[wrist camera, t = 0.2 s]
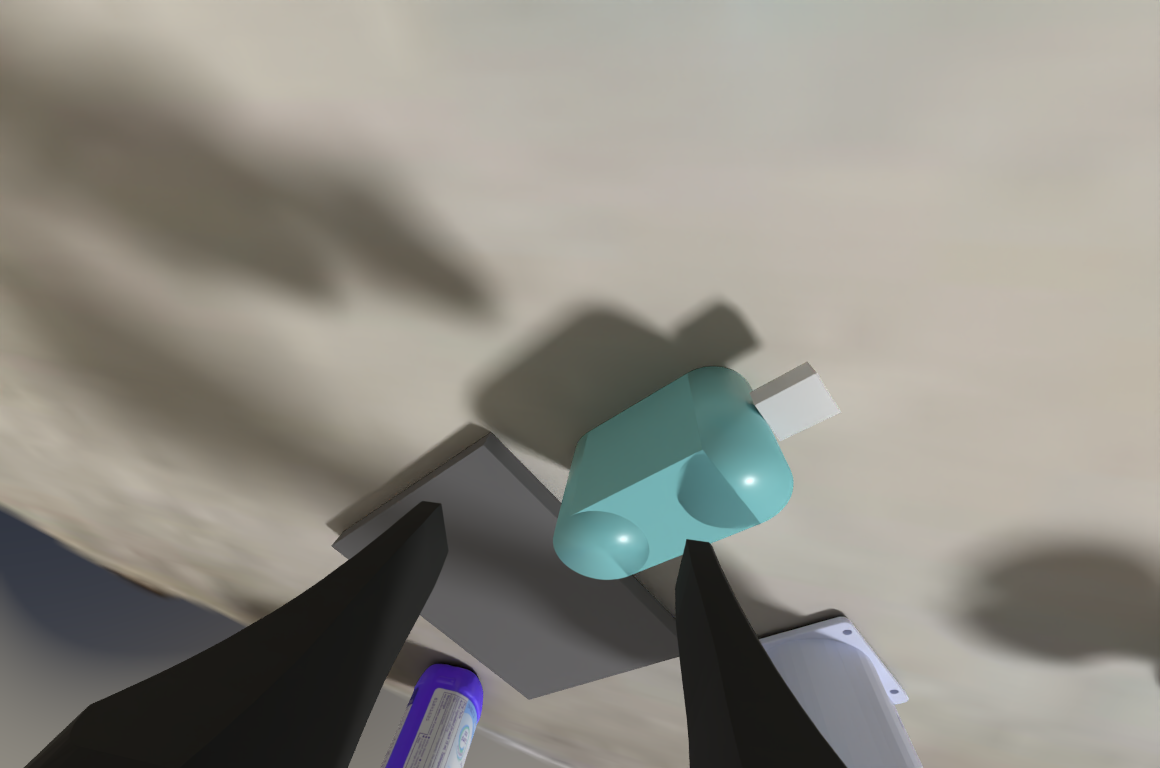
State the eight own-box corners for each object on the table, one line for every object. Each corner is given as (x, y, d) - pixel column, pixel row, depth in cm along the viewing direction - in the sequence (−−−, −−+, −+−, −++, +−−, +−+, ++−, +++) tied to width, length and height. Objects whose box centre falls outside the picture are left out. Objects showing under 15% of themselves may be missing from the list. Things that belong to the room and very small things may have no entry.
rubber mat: (690, 634, 28) (692, 652, 27) (532, 683, 34) (529, 699, 33) (491, 432, 23) (483, 445, 22) (342, 532, 28) (331, 546, 27)
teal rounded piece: (819, 387, 19) (886, 473, 13) (604, 496, 24) (592, 590, 18) (776, 320, 18) (831, 384, 12) (560, 449, 22) (533, 534, 17)
